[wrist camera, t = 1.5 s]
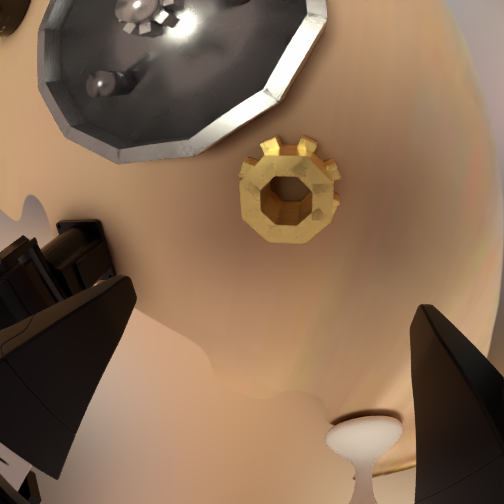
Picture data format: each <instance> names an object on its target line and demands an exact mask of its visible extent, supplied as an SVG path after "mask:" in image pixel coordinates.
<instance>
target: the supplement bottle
mask: <svg viewBox="0 0 504 504" xmlns="http://www.w3.org/2000/svg"><path fill="white" fill-rule="evenodd" d="M29 1H30V0H0V37H3V36H7V35H9V34H10V33H12V32H13V31H14V30H15V29H16V28H17V26H18V25H19V24H20V22H21V20H22V19H23V17H24V15H25V13H26V10H27V8H28V5H29Z"/></svg>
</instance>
